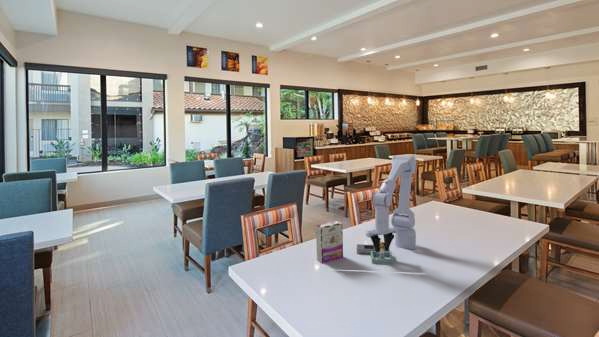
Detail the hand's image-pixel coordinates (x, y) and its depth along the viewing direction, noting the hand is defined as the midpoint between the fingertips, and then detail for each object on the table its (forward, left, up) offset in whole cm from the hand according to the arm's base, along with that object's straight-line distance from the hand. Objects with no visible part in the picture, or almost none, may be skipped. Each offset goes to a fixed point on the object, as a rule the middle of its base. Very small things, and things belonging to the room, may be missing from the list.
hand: (381, 250), depth 140 cm
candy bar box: (+23, +1, -5) cm, 23 cm away
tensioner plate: (+3, -8, -4) cm, 10 cm away
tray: (0, 0, -4) cm, 4 cm away
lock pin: (0, 0, -4) cm, 4 cm away
